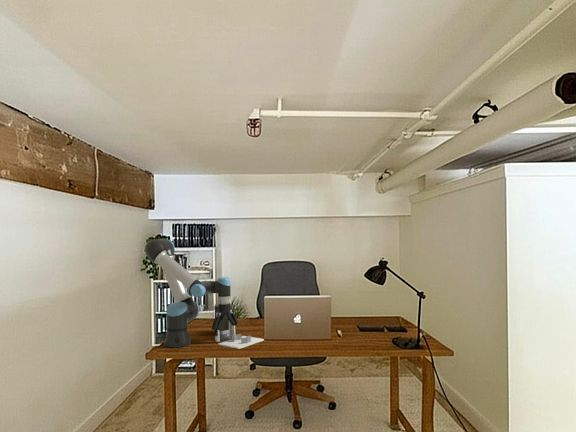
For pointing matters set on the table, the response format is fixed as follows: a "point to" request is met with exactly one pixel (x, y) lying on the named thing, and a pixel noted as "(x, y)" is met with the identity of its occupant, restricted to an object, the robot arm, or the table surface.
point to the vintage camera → (223, 322)
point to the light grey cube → (225, 335)
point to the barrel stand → (240, 341)
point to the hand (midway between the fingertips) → (225, 338)
